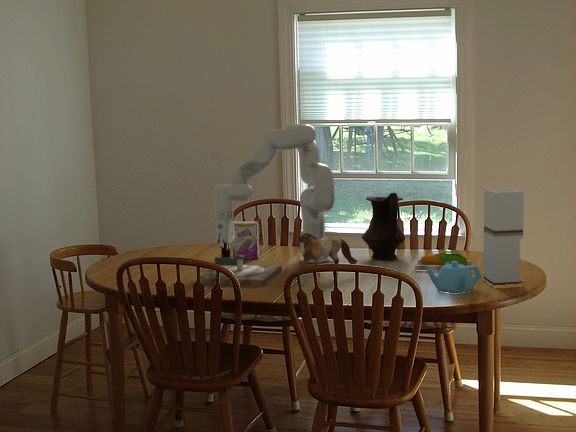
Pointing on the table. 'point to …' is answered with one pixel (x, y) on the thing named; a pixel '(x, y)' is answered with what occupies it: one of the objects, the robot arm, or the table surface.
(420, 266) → the corn rest
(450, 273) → the teapot
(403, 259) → the table surface
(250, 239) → the candy bar box
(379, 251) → the jug
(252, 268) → the tuner base
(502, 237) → the white rectangular tower
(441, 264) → the corn
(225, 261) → the lever with ball knob
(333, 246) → the horse figurine
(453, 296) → the table surface
